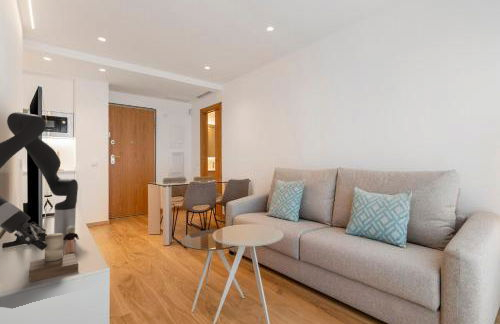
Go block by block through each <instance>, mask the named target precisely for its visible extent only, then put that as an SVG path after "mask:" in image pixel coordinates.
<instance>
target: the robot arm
mask: <svg viewBox="0 0 500 324" xmlns="http://www.w3.org/2000/svg"><path fill="white" fill-rule="evenodd" d="M6 123H7V127H8V129H9V130H10V132H11V134H13V136H11V137H10V138H7V139H6V140H4V141H2V142H0V169H1V168H3V166H4V165H5V164H7V162H8V161H9V160H10V159H11V158H13V157H14V156H15V155H16V154H17V153H19V152H20V151H21V150H23V149H25V150H26V152H27V153H28V154H29V156H30V157H31V159H32V161H33V162H34V164H35V165H36V167H37V168H38V170H39V169H40V170H39V171H40V172H41V174H42V176H43V177H44V179H45V181H46V183H47V185H48V188H49V189H50V191H51V193H52V195H54V196H57V197H65V199H64V200H63V201H60V202H57V203H55V204H54V220H53V221H54V222H53V223H54V224H53V234H56V233H62V234H63V238H64V237H65V236H66V234H68V231H67V230H66V229H67V227H69V226H74V227H75V228H76V217H77V216H76V214H77V213H76V208H77V202H78V191H79V190H78V189H79V184H78V181H77V179H74V178H60V177H59V176H58V171H59V170H60V168H61V167H60V166H61V159H60V158H59V156H58V153H57V152H56V150H54V148H52V146H50V145H49V144H48V143H46V142H45V141H44V140H42V139H41V138H40V137H41V135H42V134H43V133H44V132H45V130H46V127H47V124H46V121H45V119H44V118H43V117H42V116H40V115H37V114H32V113H28V112H27V113H26V112H16V111H15V112H12V113H10V114H9V115H8V116H7V120H6ZM30 220H31V216H29V215H28V214H27V213H26V212H24V211H23V210H22V209H20V208H18V207H17V206H15V205H14V204H13V203H12V202H11V203H10V202H9V201H8V200H7V199H5V198H4V197H2V196H0V228H1V229H3V230H4V231H6V232H8V233H9V234H13V233H14V234H13V235H14V237H16V238H17V239H19V240H20V241H22V243H24V244H26V245H27V246H30V245H31V246H35V247H36V248H37V249H39V250H41V251H45V248H46V247H47V244H45V236H46V235H48V233H47V232H46V229H45V228H43V227H42V226H41V225H39V224H37V223H36V222H35V221H32V222H29V221H30ZM73 233H76V229H75V230H74V232H73ZM74 240H76V238H74ZM64 243H66V240H65V241H64Z"/></svg>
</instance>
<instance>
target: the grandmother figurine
mask: <svg viewBox="0 0 500 324" xmlns="http://www.w3.org/2000/svg"><path fill="white" fill-rule="evenodd" d="M66 230H67V231H68V234H66V236H65V237H64V238H63V244H64V243H65V246H64V252H63V255H68V254H73V253H74V254H75V253H76V251H75V240H77V241H78V240H80V237H79V235H78V233H76V232H75V233H73V232H74V230H75V231H76V226H75V227H74V226H69V227H67V229H66ZM74 238H75V239H74ZM65 240H66V242H64V241H65Z"/></svg>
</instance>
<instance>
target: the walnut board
mask: <svg viewBox="0 0 500 324" xmlns="http://www.w3.org/2000/svg"><path fill="white" fill-rule="evenodd" d="M75 272H79V261H78V259H77V257H76V255H75V253H70V254H68V255H64V254H63V261H62V262H61V263H58V264H54V265H44V259H43V258H40V259H36V260H30V261H29V283H31V282H35V281H39V280H44V279H49V278H54V277H57V276H62V275H67V274H71V273H75Z"/></svg>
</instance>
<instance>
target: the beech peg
mask: <svg viewBox="0 0 500 324" xmlns="http://www.w3.org/2000/svg"><path fill="white" fill-rule="evenodd" d="M44 243H45V244H47V247H46V248H45V249H44V265H54V264H58V263H61V262H62V261H63V255H64V243H63V234H62V233H56V234H54V233H50V234H47V235H46V236H45V241H44Z"/></svg>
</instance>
